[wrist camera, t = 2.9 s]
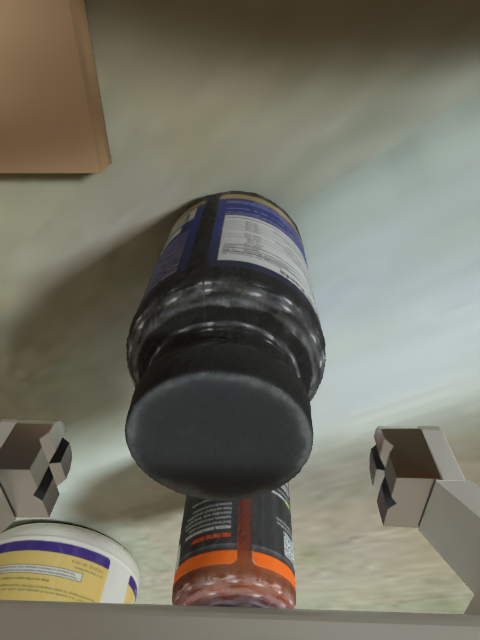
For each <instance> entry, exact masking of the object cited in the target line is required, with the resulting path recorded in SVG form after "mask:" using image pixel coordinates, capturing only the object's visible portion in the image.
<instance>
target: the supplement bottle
mask: <svg viewBox="0 0 480 640" xmlns="http://www.w3.org/2000/svg"><path fill="white" fill-rule="evenodd" d="M172 602H173V605H187V606H219V607H249V608H280V609H295V606H296V588H295V570H294V556H293V539H292V528H291V514H290V497H289V485H288V482H287V483H286V484H284V485H283V486H281V487H279V488H277V489H275V490H273V491H271V492H268V493H265V494H262V495H258V496H254V497H252V498H249V499H238V500H208V499H201V498H197V497H190V496H188V495H186V499H185V507H184V514H183V521H182V528H181V535H180V541H179V549H178V555H177V562H176V569H175V577H174V584H173V595H172Z"/></svg>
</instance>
